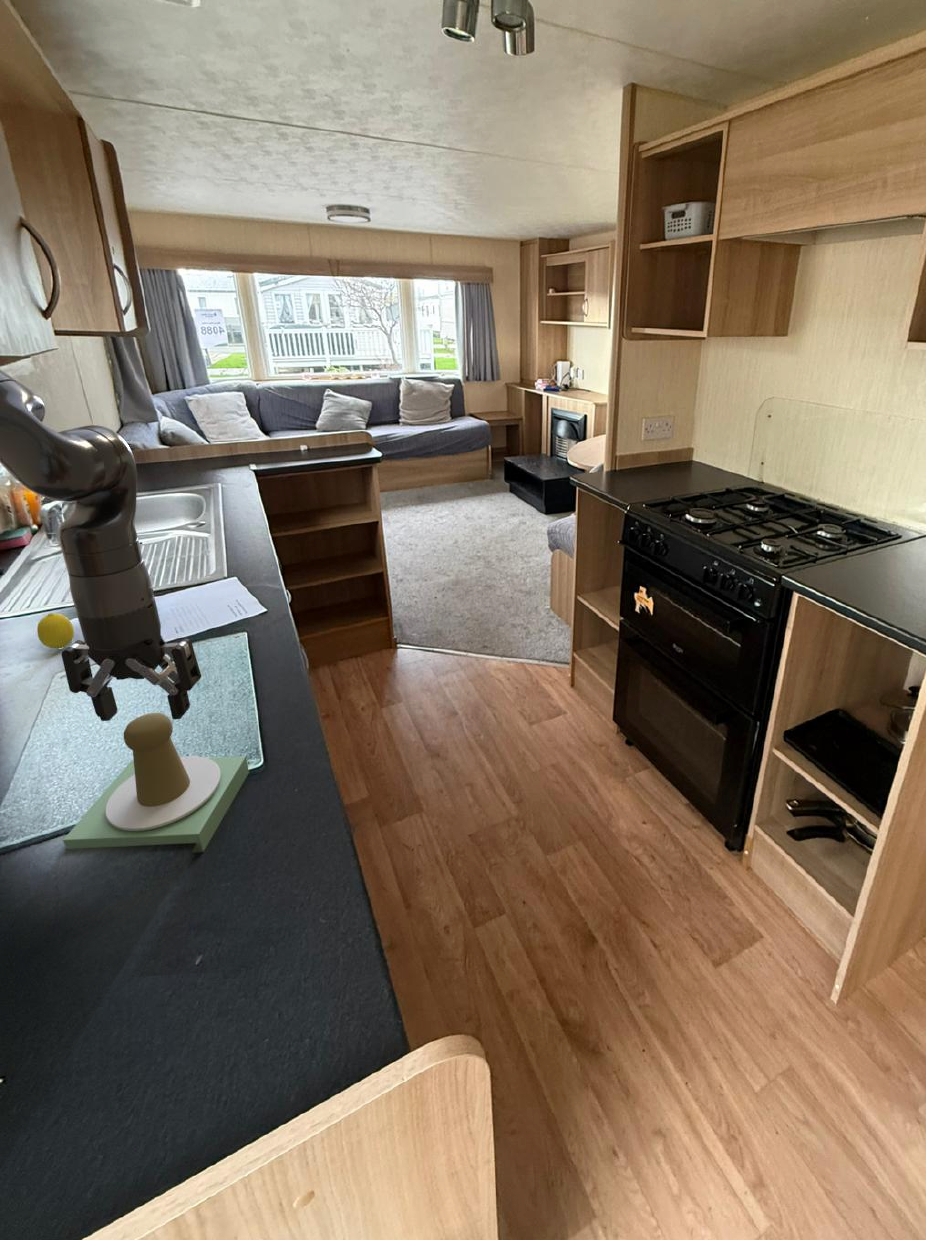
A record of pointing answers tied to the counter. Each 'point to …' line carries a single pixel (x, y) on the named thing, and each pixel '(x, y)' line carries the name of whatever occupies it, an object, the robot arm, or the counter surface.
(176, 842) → the scale
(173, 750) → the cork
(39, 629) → the lemon
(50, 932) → the counter surface
